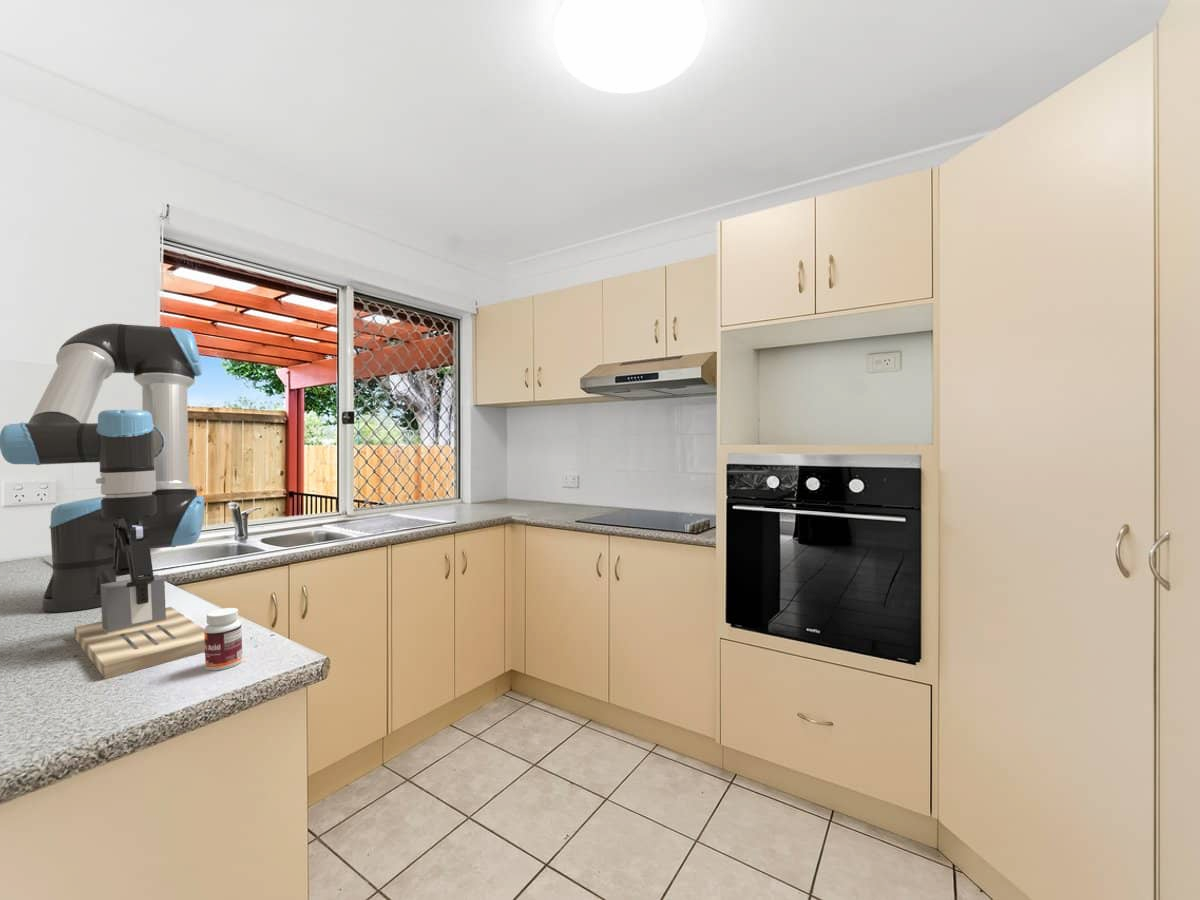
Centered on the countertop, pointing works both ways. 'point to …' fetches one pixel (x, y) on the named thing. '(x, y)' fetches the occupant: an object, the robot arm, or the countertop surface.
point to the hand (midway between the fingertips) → (134, 615)
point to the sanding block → (129, 605)
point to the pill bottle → (223, 639)
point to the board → (140, 644)
